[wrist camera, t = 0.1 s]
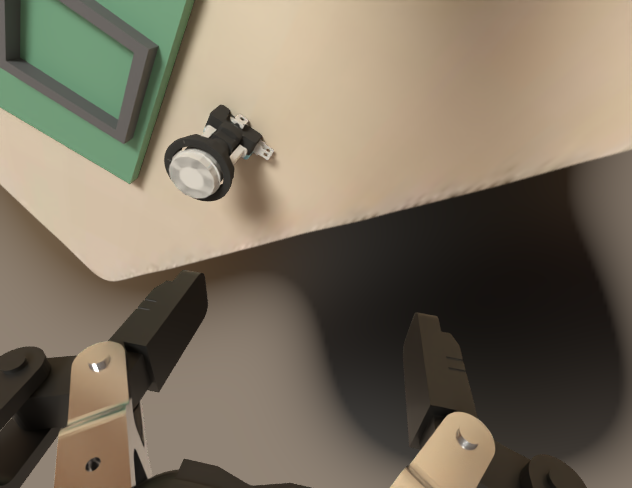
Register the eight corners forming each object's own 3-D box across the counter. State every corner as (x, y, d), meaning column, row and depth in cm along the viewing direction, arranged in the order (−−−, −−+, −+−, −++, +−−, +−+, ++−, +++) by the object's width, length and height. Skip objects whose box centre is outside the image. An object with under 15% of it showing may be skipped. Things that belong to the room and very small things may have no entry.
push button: (285, 130, 32) (252, 182, 24) (262, 170, 35) (226, 227, 28) (223, 88, 30) (167, 129, 23) (205, 134, 34) (150, 183, 26)
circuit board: (-58, -230, 21) (-134, -262, 18) (202, -23, 25) (176, -21, 22) (-29, 77, 34) (-70, 89, 31) (137, 177, 39) (116, 195, 36)
